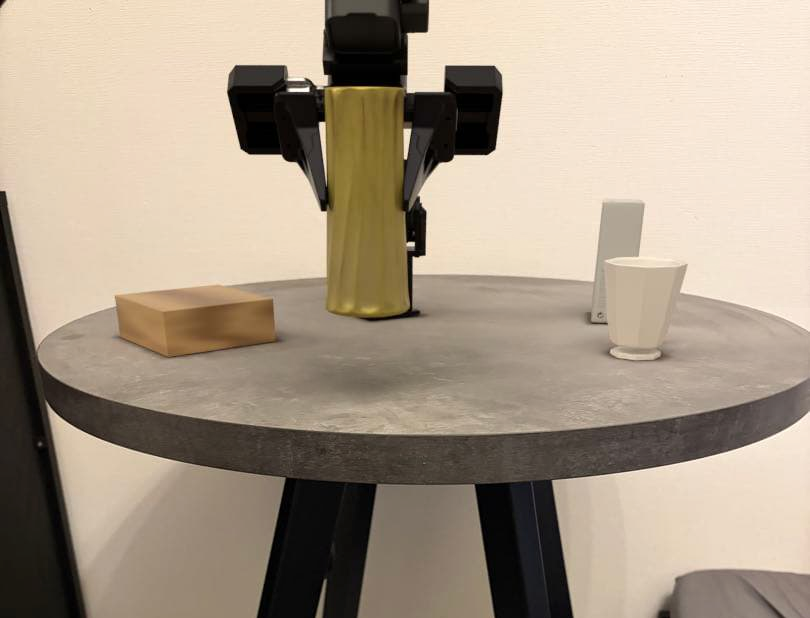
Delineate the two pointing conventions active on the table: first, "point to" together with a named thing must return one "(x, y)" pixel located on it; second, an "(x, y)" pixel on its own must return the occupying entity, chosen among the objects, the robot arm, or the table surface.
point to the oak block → (195, 319)
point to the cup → (641, 303)
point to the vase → (365, 202)
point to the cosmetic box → (615, 244)
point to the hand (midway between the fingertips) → (364, 207)
